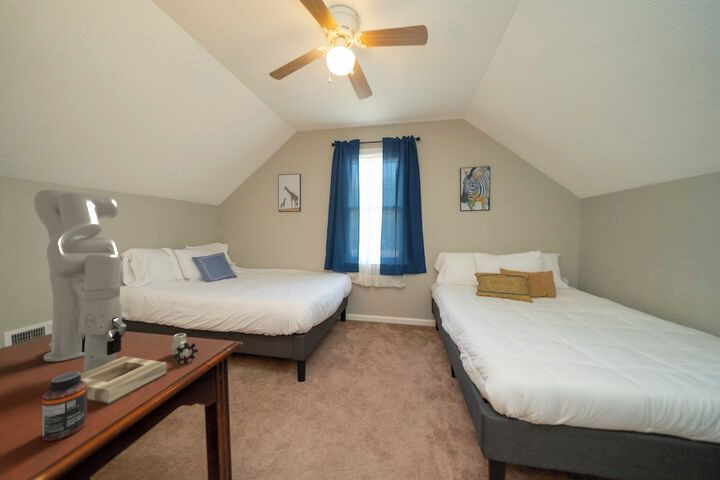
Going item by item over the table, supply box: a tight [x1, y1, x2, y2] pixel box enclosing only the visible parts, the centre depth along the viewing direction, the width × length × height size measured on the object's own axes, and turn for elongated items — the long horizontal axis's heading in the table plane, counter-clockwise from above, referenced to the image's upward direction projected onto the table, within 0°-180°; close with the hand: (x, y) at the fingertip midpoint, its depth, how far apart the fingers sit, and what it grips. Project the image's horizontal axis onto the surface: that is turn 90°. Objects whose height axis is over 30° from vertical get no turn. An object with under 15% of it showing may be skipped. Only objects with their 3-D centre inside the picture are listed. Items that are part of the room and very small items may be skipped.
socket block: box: [80, 356, 168, 406], centre depth 67 cm, size 16×14×4 cm
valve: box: [171, 332, 199, 365], centre depth 83 cm, size 7×7×12 cm
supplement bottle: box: [40, 371, 88, 442], centre depth 50 cm, size 6×6×11 cm
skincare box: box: [82, 329, 117, 373], centre depth 74 cm, size 6×4×12 cm
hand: (101, 351), depth 73 cm, fingers open, 9 cm apart
